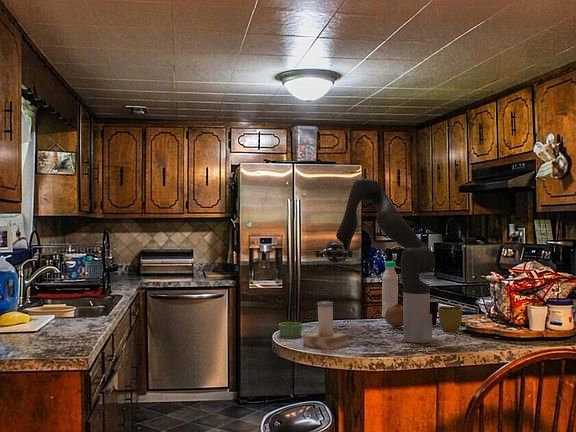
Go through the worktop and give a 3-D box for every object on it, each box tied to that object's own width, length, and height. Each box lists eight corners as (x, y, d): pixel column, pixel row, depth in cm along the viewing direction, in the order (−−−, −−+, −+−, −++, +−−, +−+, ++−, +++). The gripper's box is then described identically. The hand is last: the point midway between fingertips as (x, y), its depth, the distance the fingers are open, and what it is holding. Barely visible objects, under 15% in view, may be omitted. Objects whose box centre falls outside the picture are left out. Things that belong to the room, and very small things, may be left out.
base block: (348, 344, 191) (348, 334, 191) (328, 350, 183) (328, 339, 183) (323, 340, 198) (323, 330, 198) (303, 344, 190) (303, 334, 190)
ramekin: (274, 337, 204) (274, 325, 204) (284, 332, 212) (284, 321, 212) (296, 339, 200) (296, 327, 200) (306, 334, 208) (306, 323, 208)
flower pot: (437, 331, 215) (437, 308, 215) (440, 328, 223) (440, 305, 223) (461, 333, 211) (461, 310, 211) (462, 329, 219) (462, 306, 220)
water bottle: (399, 316, 249) (399, 261, 250) (395, 319, 243) (395, 262, 243) (384, 315, 252) (384, 260, 253) (380, 318, 246) (380, 261, 246)
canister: (336, 334, 191) (335, 302, 191) (326, 336, 187) (326, 304, 187) (324, 332, 194) (323, 301, 194) (315, 334, 190) (314, 302, 191)
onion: (411, 330, 217) (411, 305, 217) (387, 330, 217) (387, 304, 217) (406, 326, 227) (406, 301, 227) (383, 325, 227) (383, 301, 227)
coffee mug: (439, 326, 226) (439, 302, 226) (418, 325, 228) (418, 301, 228) (437, 321, 237) (437, 298, 237) (417, 320, 239) (417, 297, 239)
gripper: (318, 243, 227) (314, 244, 211) (353, 243, 225) (352, 245, 209) (318, 261, 227) (314, 264, 211) (352, 262, 225) (352, 265, 209)
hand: (333, 254), depth 210 cm, fingers open, 8 cm apart
